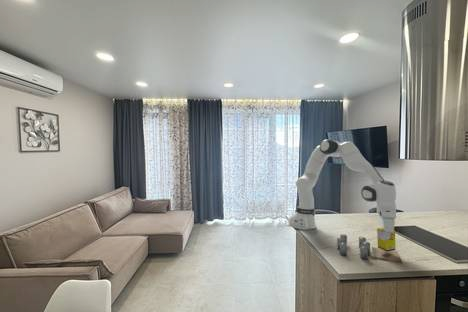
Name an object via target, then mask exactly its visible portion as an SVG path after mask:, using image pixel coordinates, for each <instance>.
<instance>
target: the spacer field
mask: <svg viewBox="0 0 468 312" xmlns="http://www.w3.org/2000/svg"><path fill="white" fill-rule="evenodd" d="M339 235H340V237H337V238H336V243H337V244H336V247H337V250H338V251H339V255H340V256H342V257H347V256H348V235H346V234H344V233H343V234H342V233H341V234H339ZM358 248H359V252H360V254H359V258H360V259H361V260H364V261H366V260H367V261H368V260H369V256H370V255H371V242H369V241H367V238H366V237H364V236H359V237H358Z"/></svg>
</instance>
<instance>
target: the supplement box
mask: <svg viewBox="0 0 468 312" xmlns="http://www.w3.org/2000/svg"><path fill="white" fill-rule="evenodd" d="M376 231H377V236H376V237H377V248H381V249H383V250H385V251H393V250H395V251H396V230H395V229H394V232H393V233H391V234H390V239H386V238H385V235H386V233H385V231H384V229H383V227H377V228H376Z"/></svg>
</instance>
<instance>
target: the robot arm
mask: <svg viewBox="0 0 468 312" xmlns="http://www.w3.org/2000/svg"><path fill="white" fill-rule="evenodd" d="M329 157H332V158H336V159H337V158H338V159H339V158H340V159H342V161H343V162H344V164H345V166H346V167H347V168H348V169H350V171H351V170H352V171H355V172H359V173H361V174H364V175H365V176H367V177H368V178H369V180H370V181H371V182H372V184H368V185H364V186H363V187H362V189H361V193H360V195H361V196H362V199H363V200H364V201H365V202H369V203H372V202H373V203H374V202H375V203H376V214H378V216H379V221H380V224H381V226H382V227H383V229H384V231H385V233H386V235H385V238H386V239H390V234H391V233H393V232H394V230H395V223H396V221H395V219H397V205H396V200H397V191H396V190H397V189H396V186H395V183H393V182H391V181H388V180H385V179H384V178H383V177H382V175H381V173H379V172H378V170H377V169H376V168H375V166H373V164H372V163H370V162H369V161H368V160H366V158H365V157H364V156H363V155H362V153H361V151H360V150H359V148H358V147H357V146H356V145H355V143H353V142H352V141H344V142H342V143H341V142H340V141H338V140H333V139H324V140H322V141H321V142H320V144H319V145H318V146H316V147H315V148H314V150H313V151H312V153H311V155H310V157H309V158H308V161H307V163H306V165H305V169H304V173H303V175H302V176H299V178H297V180H296V182H295V186H296V188H297V194H298V206H296V209H295V212H294V213H293V214H291V215H290V216H289V218H288V221H286V222H285V226H286V227H289V228H294V229H299V230H304V231H308V230H314V229H316V228H317V225H316V220H315V219H316V218H315V215H316V210H315V197H314V193H313V188H314V187H315V186H316V184H317V182H318V179H319V176H320V173H321V171H322V169H323V167H324V165H325V163H326V161H327V159H328V158H329ZM382 227H381V228H382Z"/></svg>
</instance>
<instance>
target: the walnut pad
mask: <svg viewBox="0 0 468 312" xmlns="http://www.w3.org/2000/svg"><path fill="white" fill-rule="evenodd" d="M371 250H372V253H373V258H374V259H376V260H381V261H387V262H393V263H400V264H402V263H403V261H402V259H401V256H400V255H399V252H398V251H397V250H396V249H395V250H393V251H385V250H383V249H381V248H378V247H375V246H372V247H371Z"/></svg>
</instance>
